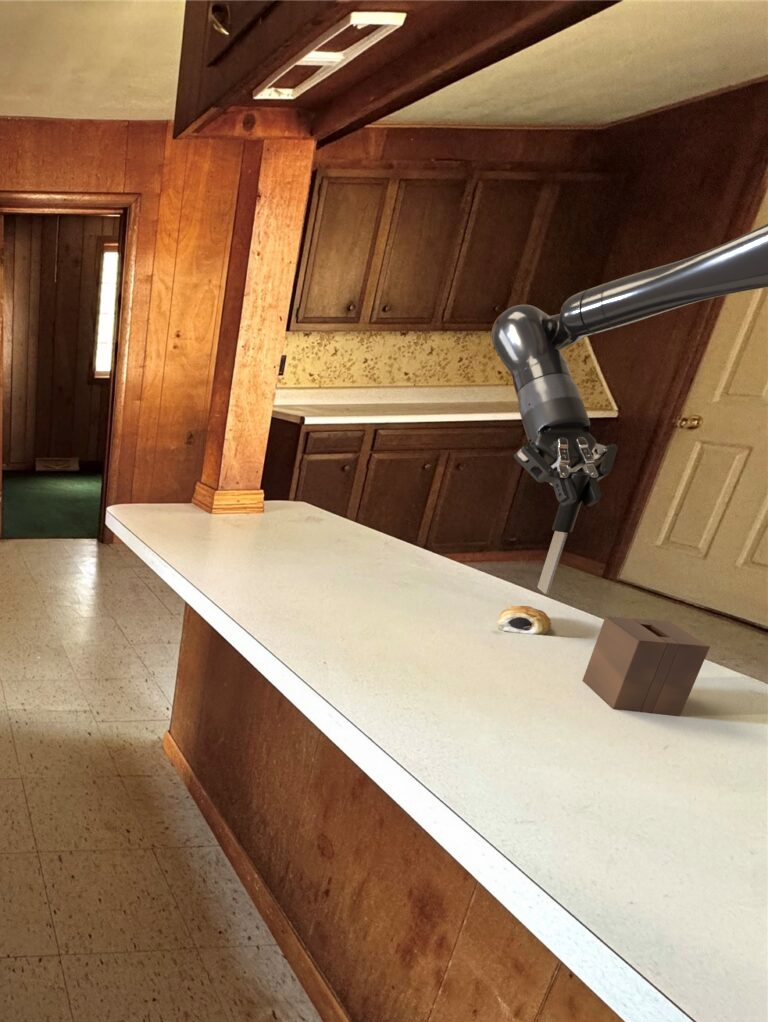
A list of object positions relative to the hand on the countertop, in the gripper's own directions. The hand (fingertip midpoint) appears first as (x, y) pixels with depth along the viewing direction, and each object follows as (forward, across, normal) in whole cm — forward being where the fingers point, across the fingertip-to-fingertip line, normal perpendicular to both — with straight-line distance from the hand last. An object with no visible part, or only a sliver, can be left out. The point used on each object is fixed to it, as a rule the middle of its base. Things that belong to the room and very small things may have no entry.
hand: (581, 502), depth 99 cm
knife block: (+30, -1, +2) cm, 31 cm away
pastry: (+13, 0, +20) cm, 24 cm away
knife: (+9, 0, +12) cm, 15 cm away
